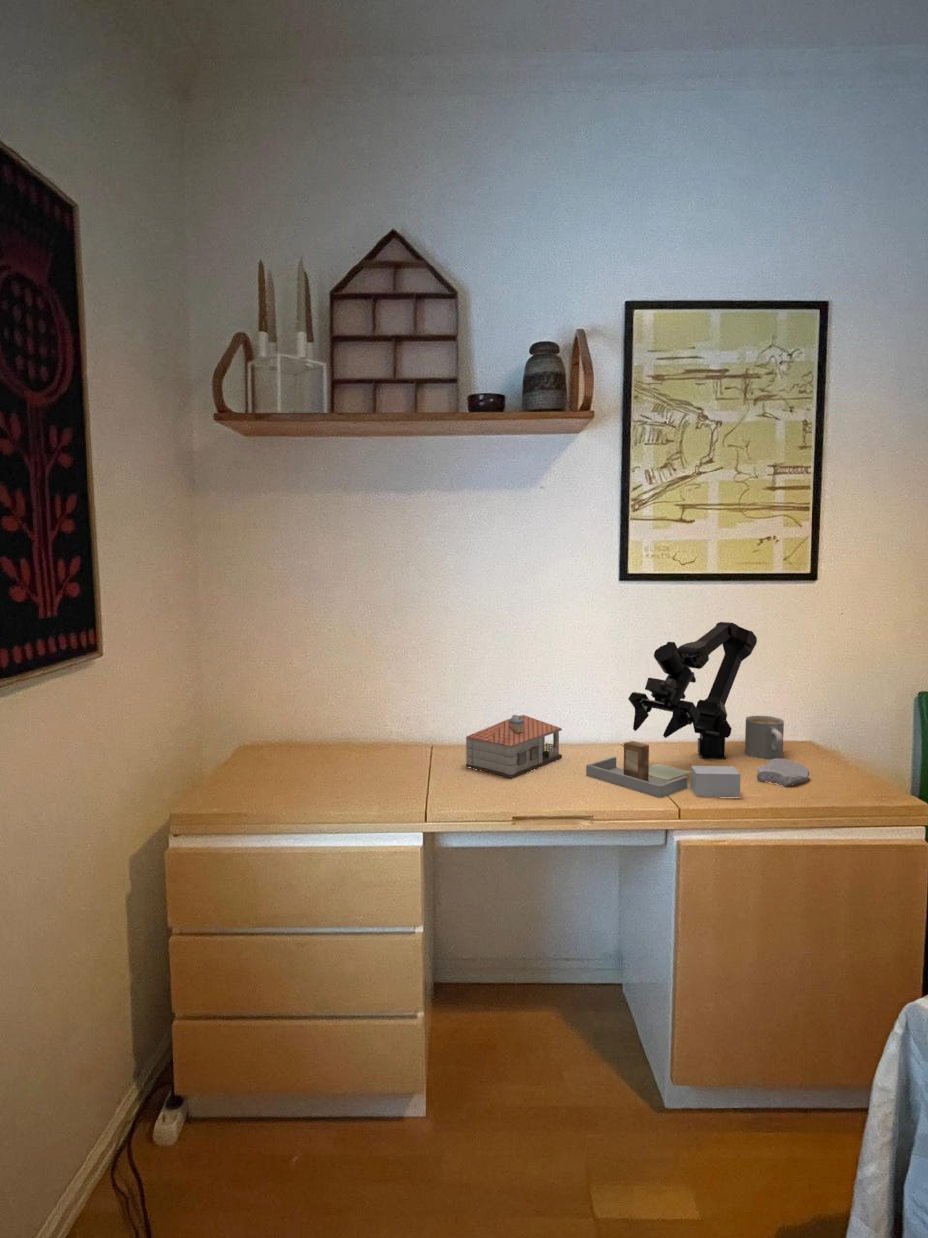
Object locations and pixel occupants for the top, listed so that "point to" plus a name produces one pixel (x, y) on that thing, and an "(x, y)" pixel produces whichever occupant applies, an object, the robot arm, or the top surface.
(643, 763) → the walnut box
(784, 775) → the stone block
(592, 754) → the top surface
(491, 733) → the model house
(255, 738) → the top surface
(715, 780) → the greyblue box
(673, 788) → the parts tray
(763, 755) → the coffee mug
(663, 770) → the pad
